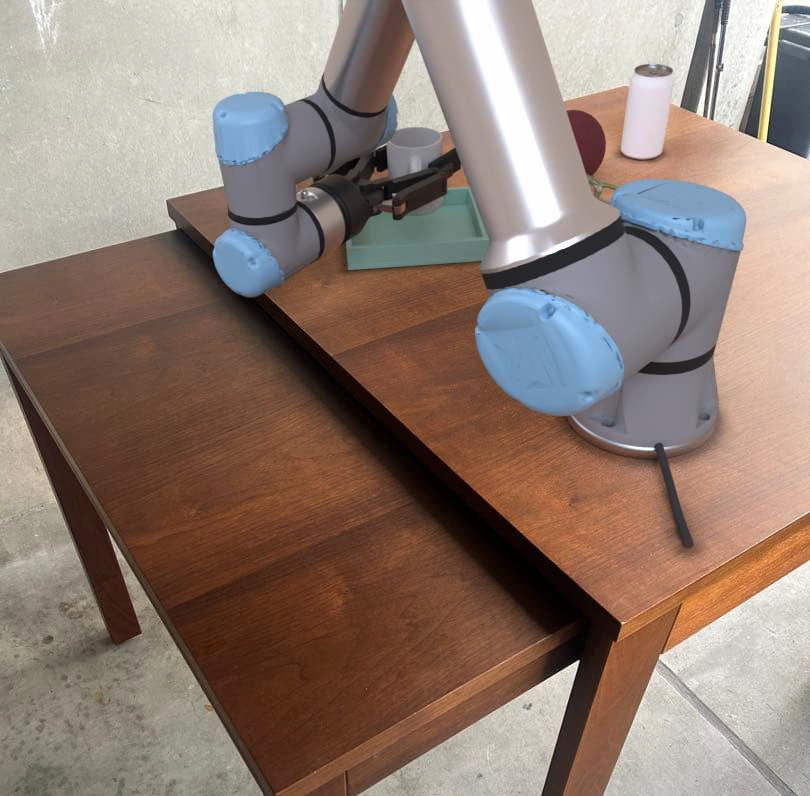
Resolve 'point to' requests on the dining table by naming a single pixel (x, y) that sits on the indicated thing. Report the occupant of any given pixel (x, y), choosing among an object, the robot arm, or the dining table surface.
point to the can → (647, 111)
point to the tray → (422, 236)
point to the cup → (414, 157)
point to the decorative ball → (588, 139)
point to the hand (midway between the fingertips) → (432, 151)
